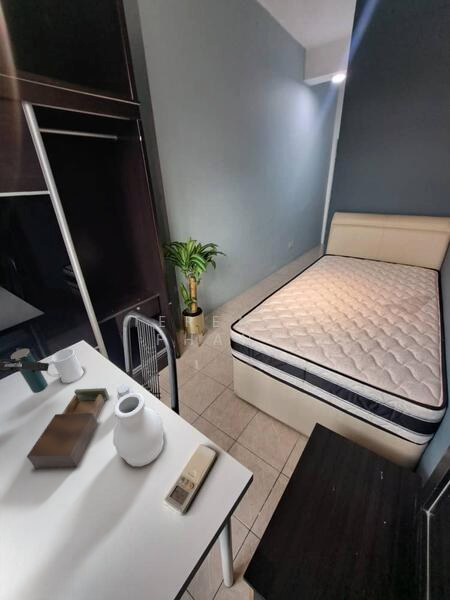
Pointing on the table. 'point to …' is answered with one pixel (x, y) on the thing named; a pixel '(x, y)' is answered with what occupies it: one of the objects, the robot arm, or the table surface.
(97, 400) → the drawer
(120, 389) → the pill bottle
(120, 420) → the vase
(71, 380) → the mug
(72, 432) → the drawer cabinet
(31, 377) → the tin
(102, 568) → the table surface
